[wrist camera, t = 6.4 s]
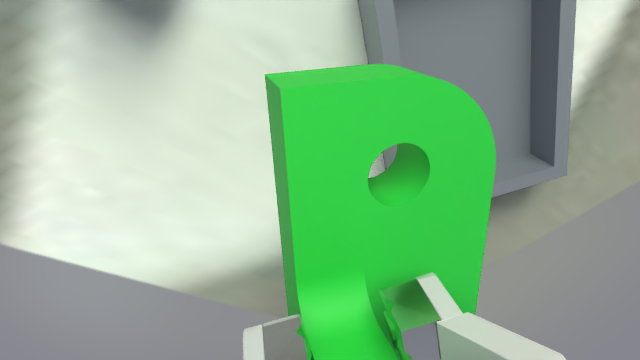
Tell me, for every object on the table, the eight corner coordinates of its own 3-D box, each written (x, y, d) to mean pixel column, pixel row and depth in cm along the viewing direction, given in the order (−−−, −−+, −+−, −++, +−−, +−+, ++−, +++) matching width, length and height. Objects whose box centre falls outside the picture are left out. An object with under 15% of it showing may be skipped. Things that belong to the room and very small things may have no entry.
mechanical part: (436, 353, 17) (605, 594, 10) (295, 393, 16) (382, 704, 9) (464, 55, 13) (822, 130, 5) (265, 74, 11) (404, 209, 4)
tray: (539, -94, 25) (582, -105, 22) (535, 157, 33) (566, 175, 30) (350, -47, 25) (367, -52, 21) (390, 199, 32) (407, 222, 29)
